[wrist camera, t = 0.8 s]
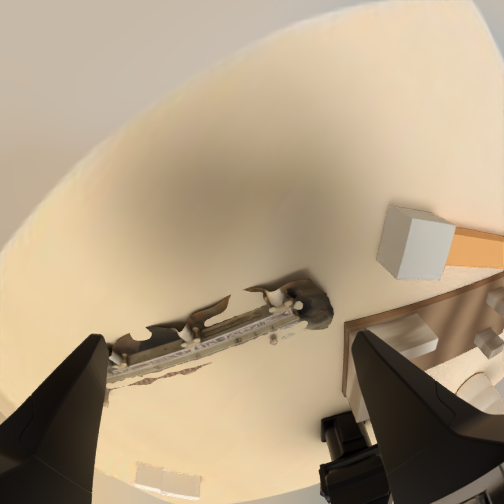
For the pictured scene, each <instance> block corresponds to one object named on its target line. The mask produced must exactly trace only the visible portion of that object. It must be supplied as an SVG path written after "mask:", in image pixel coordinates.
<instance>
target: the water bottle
mask: <svg viewBox="0 0 504 504" xmlns="http://www.w3.org/2000/svg"><path fill="white" fill-rule="evenodd" d="M456 395H457V396H458V397H460V398H461V399H463V400H464V401H466V402H468V403H469V404H471V405H473V406H474V407H476V408H477V409H479V410H481V411H482V412H485V413H488V414H504V401H503V400H502V399H501V397H500V395H499V393H498V392H497V391H496V389H495V388H494V387H493V386H492V385H491V383H490V381H489V380H488V378H487V377H486V376H485V375H484V374H483V373H479V374H476V375H474V376H472V377H471V378H469V379H468V380H467V381H466V382H465V383H464V384H463V385H462V386H461V387H460V389H459V390H458V392H457V394H456Z"/></svg>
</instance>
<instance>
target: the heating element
mask: <svg viewBox="0 0 504 504" xmlns="http://www.w3.org/2000/svg"><path fill="white" fill-rule="evenodd" d="M244 290H246V291H250V292H263V297H264V300H265V301H266V303H267V305H265V306H261V307H260V308H257V309H255V310H253V311H250V312H247V313H244V314H242V315H239V316H235V317H233V318H231V319H228V320H225V321H223V322H220V323H217V324H214V325H212V326H209V327H205V326H204V322H205V321H206V320H207V319H209V318H211V317H213V316H215V315H218V314H220V313H222V312H223V311H224V310H225V309H226V308H227V305H228V300H229V298H230V296H231V295H229V296H228V297H226V298H225V299H223V300H222V301H221V302H219V303H218V304H217V305H215V306H214V307H212V308H210V309H207V310H203V311H200V312H197V313H195V314H193V315H192V316H191V317H190V318H189V319H188V321H187V323H186V325H185V327H184V329H183V330H182V331H181V332H178V331H177V330H176V329H175V328H168V329H166V328H163V327H156V326H152V327H146V328H147V329H148V330H149V331H150V332H152V336H151V338H150V339H148V340H144V341H136V340H133V339H132V337H131V335H130V333H129V334H127V335H125V336H124V337H122V338H121V339H119V340H118V341H117V342H116V343H115V344H114V345H113V347H112V353H111V352H110V351H109V361H108V370H107V381H106V384H107V383H115V382H117V381H122V380H124V379H125V378H130V377H135V376H140V377H143V375H145V374H148V373H155V372H160V371H162V370H164V369H167V368H170V367H173V366H175V365H178V364H183V363H185V362H188V361H192V360H198V359H200V358H203V357H206V356H210V355H212V354H214V353H216V352H219V351H222V350H224V349H227V348H229V347H232V346H236V345H240V344H243V343H245V342H247V341H248V340H251V339H255V338H257V337H259V336H261V335H265V334H267V333H269V332H274V331H276V330H277V329H286V328H290V327H292V326H293V325H295V324H297V323H299V322H301V321H304V320H305V321H307V322H308V325H307V327H306V328H305V329H303V330H320V329H325V328H328V325H329V324H330V323H331V321H332V318H333V315H334V312H333V308H332V306H331V305H330V301H329V298H328V297H327V294H326V293H324V292H323V291H322V290H320V289H319V288H317V287H316V286H315V285H314V284H313V282H312V281H311V280H310V279H304V280H298V281H293V282H290V283H287V284H285V285H283V286H282V287H280V288H279V289H278V290H276V291H273V292H268V291H266V290H265V289H263V288H260V287H256V288H248V289H244ZM297 301H301V302H302V303H303V308H302V309H301V310H297V309H293V307H294V305H295V303H296V302H297ZM303 330H301V331H303ZM293 334H295V333H293ZM293 334H287V335H286V336H284V337H283V338H281V339H285V338H289V337H290V336H292V335H293ZM277 342H278V341H277V339H275V338H274V339H271V340H270V344H271V345H276V344H277ZM208 364H210V363H208ZM205 365H207V364H205ZM205 365H201V366H198V367H195V368H189V369H184V370H182V371H179V372H172V373H167V374H166V375H164V376H161V377H158V378H145V379H143V380H141V381H138V382H136V383H134V384H130V385H147V384H151V383H152V382H154V381H155V380H157V379H159V378H166V377H171V376H174V375H176V374H183V375H186V374H190V373H192V372H195V371H196V370H197V369H199V368H201V367H202V366H205ZM130 385H128V386H130ZM123 387H124V386H123ZM118 388H120V387H118ZM114 389H116V388H114ZM110 390H112V389H107V388H106V392H105V398H104V404H103V406H105V407H108V405H109V401H108V396H109V391H110Z"/></svg>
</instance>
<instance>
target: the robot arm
mask: <svg viewBox="0 0 504 504" xmlns="http://www.w3.org/2000/svg"><path fill="white" fill-rule="evenodd" d="M351 353H352V357H353V361H354V365H355V370H356V374H357V379H358V383H359V387H360V390H361V393H362V396H363V399H364V402H365V405H366V408H367V411H368V414H369V418H370V421H371V424H372V427H373V430H374V434H375V437H376V440H377V444H375V445H373V446H372V444H371V441H370V439H369V436H368V433H367V431H366V428H365V425H364V424H365V421H362V422H358V423H357V422H356V420H355V417H354V414H353V412H350V413H346V414H342V415H338V416H334V417H330V418H326V419H323V420H322V421H321V441H322V442H327V445H328V449H329V452H330V456H331V460H332V462H329V463H326V464H321V465H320V469H319V474H320V481H321V482H320V495H321V496H323V497H325V499H326V500H327V502H328V503H331V504H392V501H394V504H504V414H488V413H485V412H482V411H481V410H479V409H477V408H476V407H474V406H473V405H471V404H469V403H468V402H466V401H464V400H463V399H461V398H460V397H458V396H457V395H455V394H454V393H452V392H451V391H449V390H448V389H447V388H445V387H444V386H443V385H441V384H440V383H439V382H437V381H435V379H433V378H432V377H431V376H429V375H428V374H427V373H425V372H424V371H423V370H421V369H420V368H419V367H418V366H416V365H415V364H414V363H412V362H411V361H410V360H408V359H407V358H406V357H404V356H403V355H402V354H400V353H399V352H398V351H396V350H395V349H394V348H392V347H391V346H390V345H389V344H387V343H386V342H385V341H383V340H382V339H381V338H379V337H378V336H377V335H375V334H374V333H373V332H371V331H370V330H360V331H358V332H357V334H356V336H355V339H354V341H353V343H352V346H351ZM108 361H109V350H108V347H107V345H106V342H105V339H104V337H103V335H101V334H90V335H89V336H88V337H87V338H86V339H85V340H84V341H83V342H82V343H81V344H80V345H79V346H78V347H77V348H76V349H75V350H74V351H73V352H72V353H71V354H70V355H69V356H68V357H67V358H66V359H65V360H64V361H63V362H62V363H61V364H60V365H59V366H58V367H57V368H56V369H55V370H54V371H53V372H52V373H51V374H50V375H49V376H48V377H47V378H46V379H45V380H44V381H43V383H42V384H41V385H40V386H39V387H38V388H37V389H36V390H35V391H34V392H33V393H32V394H31V396H29V397H28V398H27V399H26V401H25V402H24V403H23V404H22V405H21V406H20V407H19V408H18V409H17V410H16V411H15V412H14V413H13V414H12V415H11V416H9V417H8V418H7V419H6V420H5V421H4V422H3V423H2V424H1V425H0V504H91V503H92V486H93V474H94V464H95V456H96V448H97V440H98V433H99V427H100V421H101V415H102V409H103V404H104V398H105V392H106V381H107V370H108Z"/></svg>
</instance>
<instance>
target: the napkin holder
mask: <svg viewBox="0 0 504 504" xmlns="http://www.w3.org/2000/svg"><path fill="white" fill-rule="evenodd" d="M200 479H201V476H196V475H190V474H184V473H178V472H173V471H168V470H167V469H165V468H164V467H159V466H155V465H150V464H146V463H142V462H138V467H137V472H136V477H135V482H134V484H135V487H138V488H142V489H146V490H151V491H155V492H160V494H161V495H167V496H172V497H178V498H184V499H190V500H197V501H198V500H199V498H200Z"/></svg>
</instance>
